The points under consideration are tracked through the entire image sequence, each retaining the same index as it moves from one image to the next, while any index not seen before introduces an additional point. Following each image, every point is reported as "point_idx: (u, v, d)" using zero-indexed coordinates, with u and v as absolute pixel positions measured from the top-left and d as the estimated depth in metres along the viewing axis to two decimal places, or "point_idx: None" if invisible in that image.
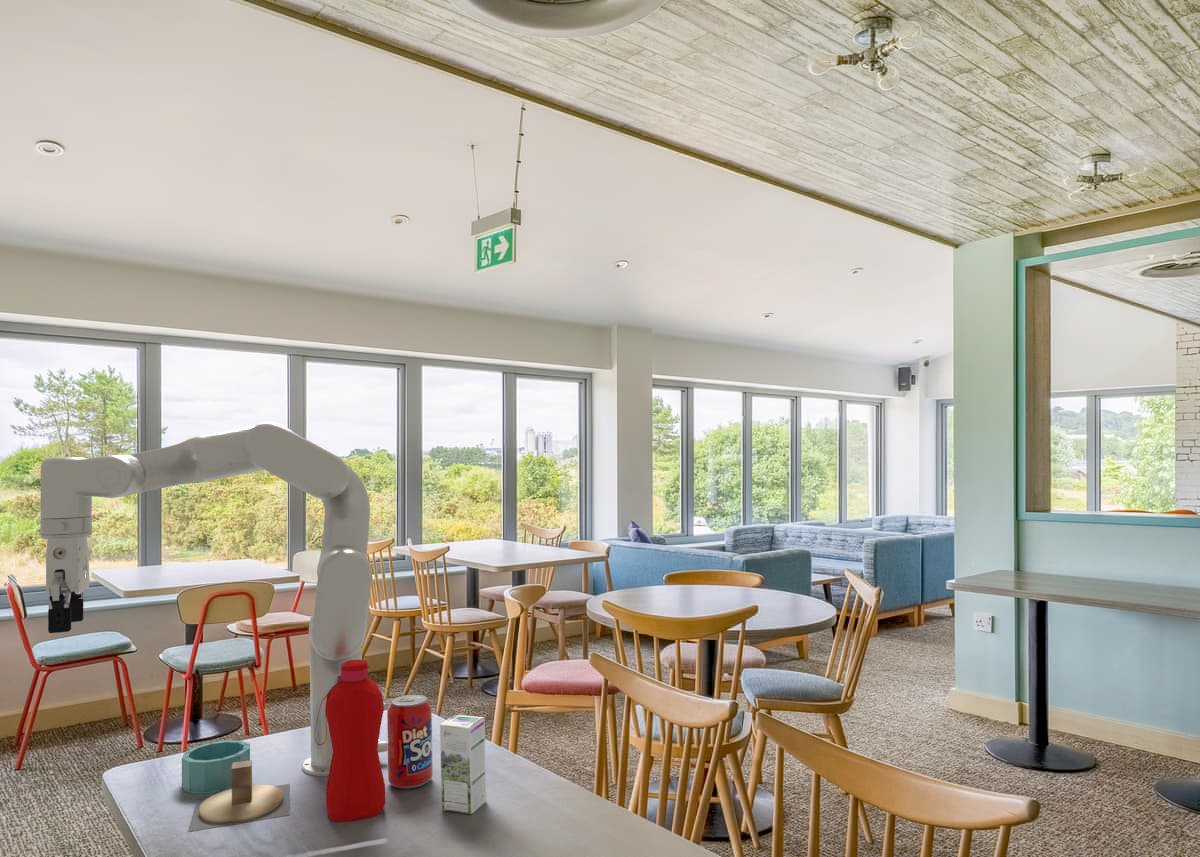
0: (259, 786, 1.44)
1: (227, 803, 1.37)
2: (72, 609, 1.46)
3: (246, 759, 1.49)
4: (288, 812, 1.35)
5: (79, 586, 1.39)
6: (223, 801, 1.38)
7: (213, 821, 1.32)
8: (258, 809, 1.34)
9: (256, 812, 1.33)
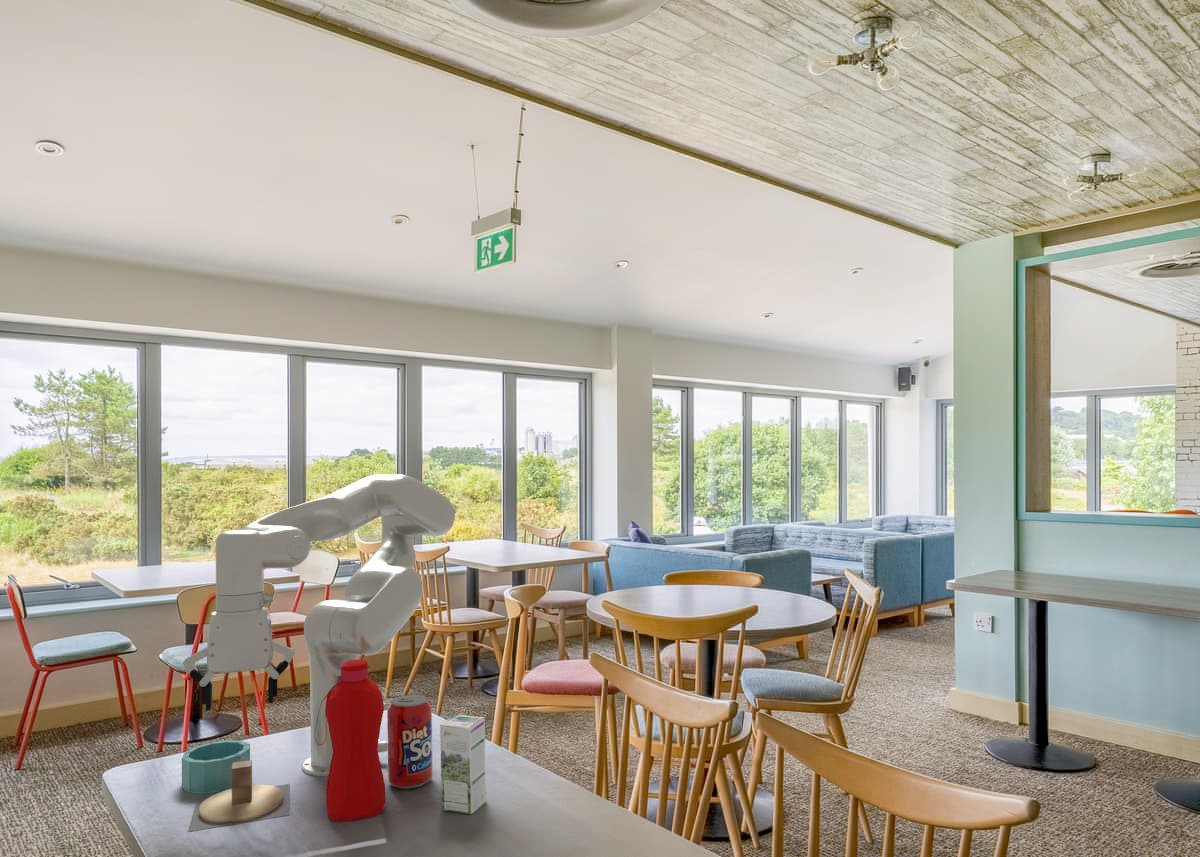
0: (259, 786, 1.44)
1: (227, 803, 1.37)
2: (211, 694, 1.37)
3: (246, 759, 1.49)
4: (288, 812, 1.35)
5: None
6: (223, 801, 1.38)
7: (213, 821, 1.32)
8: (258, 809, 1.34)
9: (256, 812, 1.33)
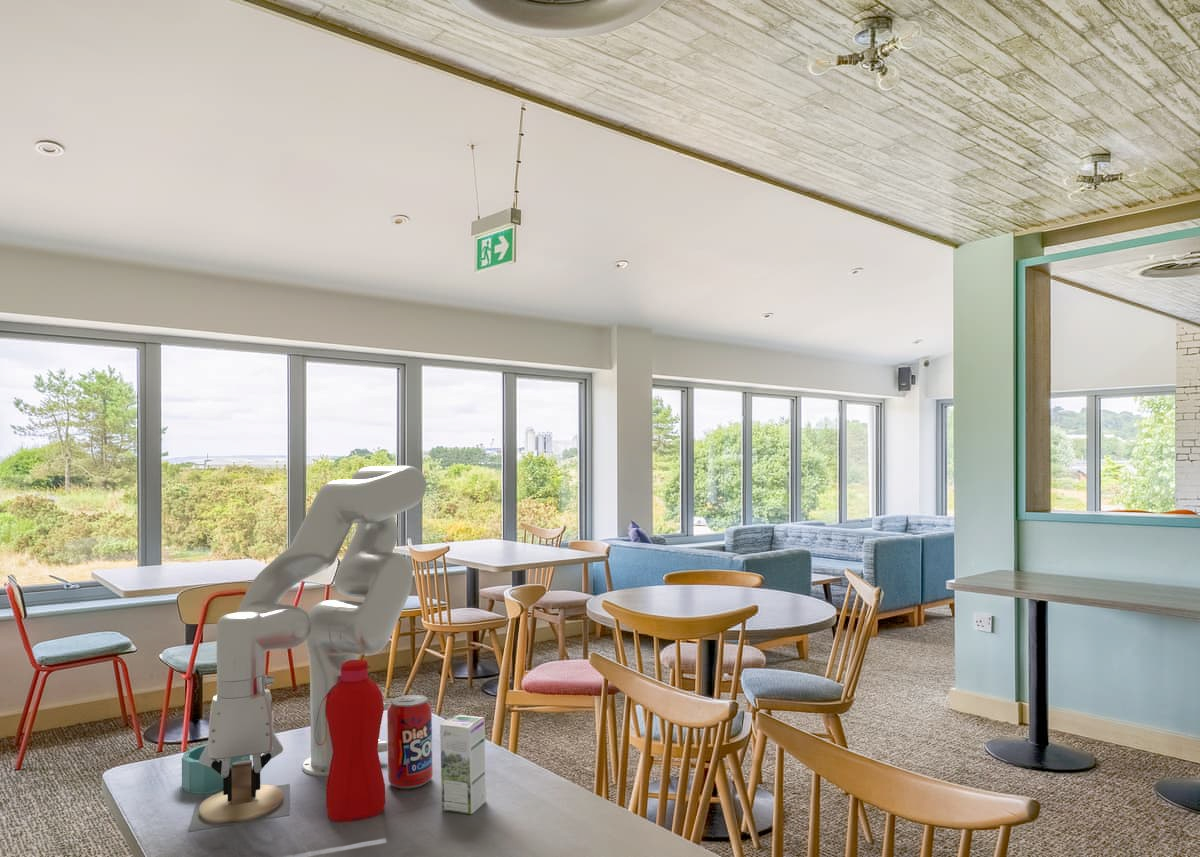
0: None
1: (227, 803, 1.37)
2: None
3: (246, 759, 1.49)
4: (288, 812, 1.35)
5: None
6: (223, 801, 1.38)
7: (213, 821, 1.32)
8: (258, 809, 1.34)
9: (256, 812, 1.33)
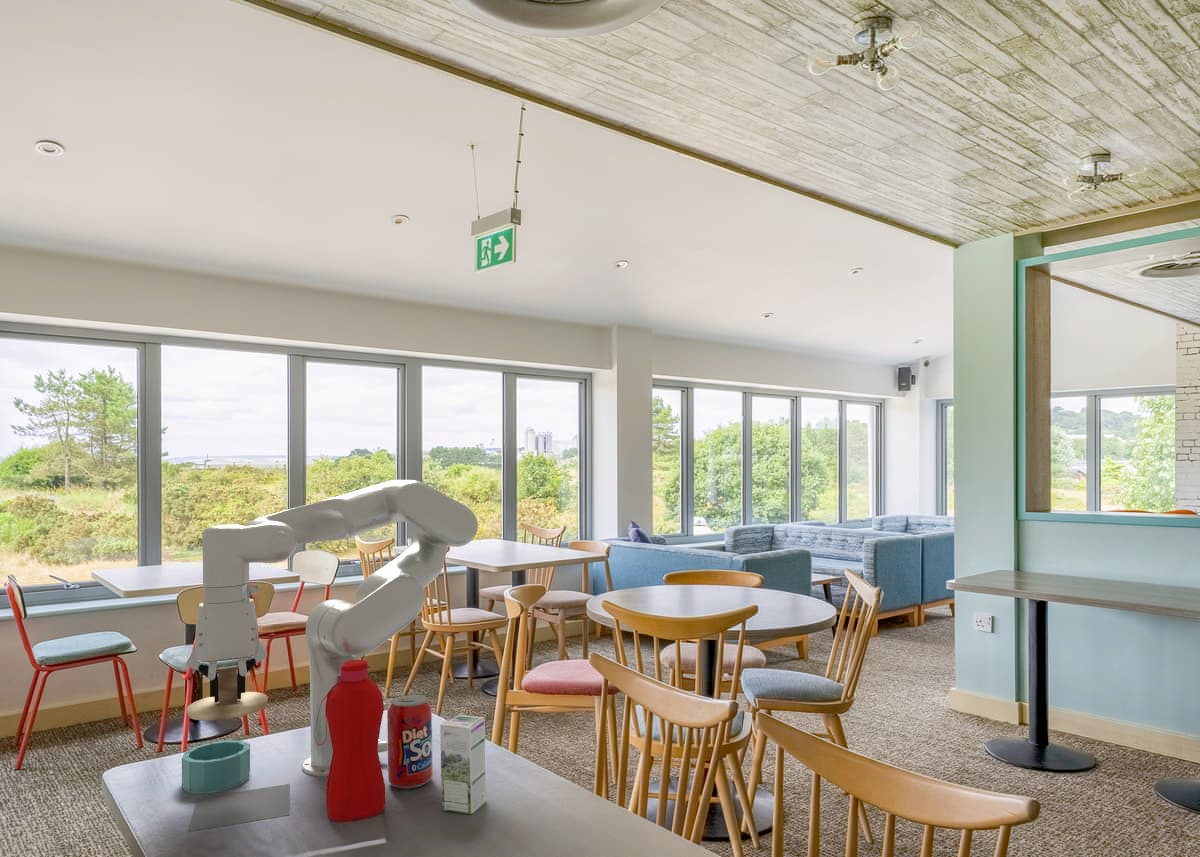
0: (243, 693, 1.50)
1: (214, 705, 1.43)
2: None
3: (246, 759, 1.49)
4: (288, 812, 1.35)
5: None
6: (209, 704, 1.44)
7: (202, 718, 1.38)
8: (245, 708, 1.41)
9: (243, 710, 1.40)
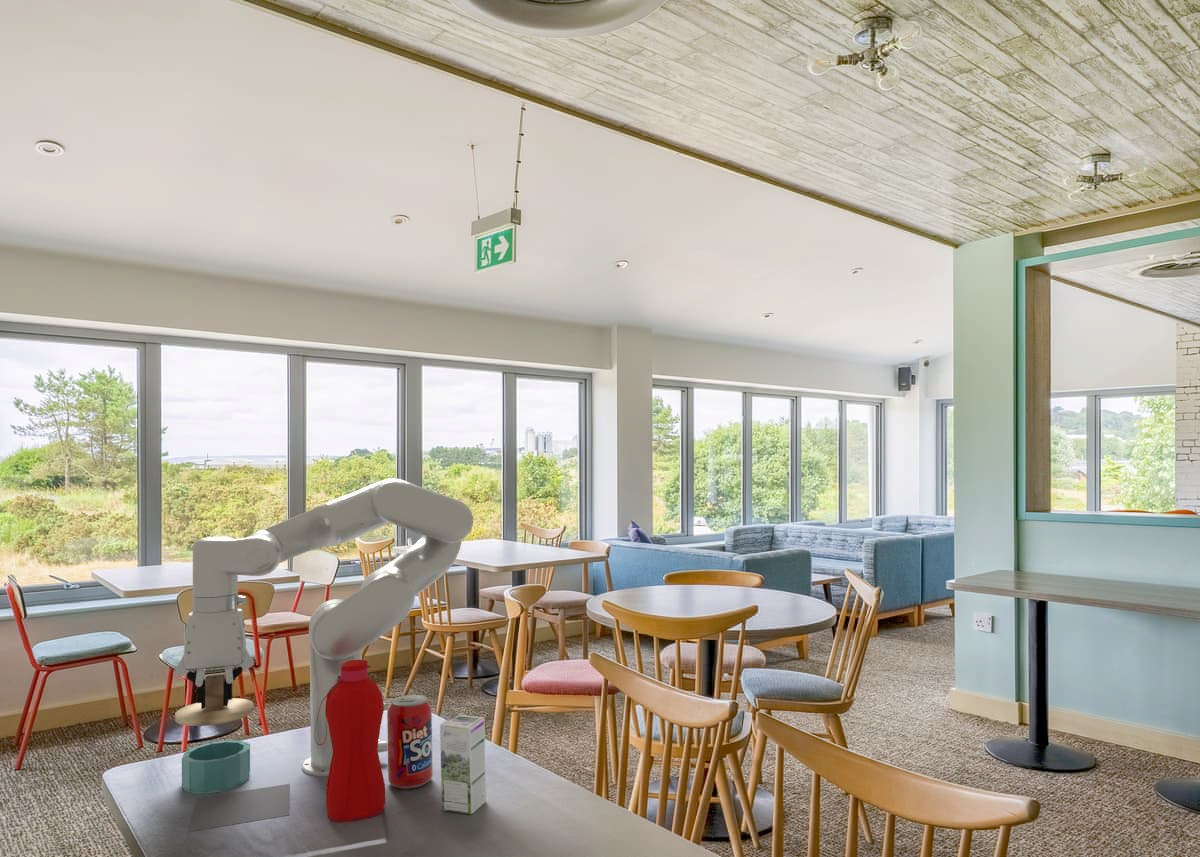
0: (232, 699, 1.55)
1: (201, 710, 1.49)
2: None
3: (246, 759, 1.49)
4: (288, 812, 1.35)
5: None
6: (197, 709, 1.49)
7: (187, 724, 1.44)
8: (229, 714, 1.46)
9: (227, 717, 1.45)
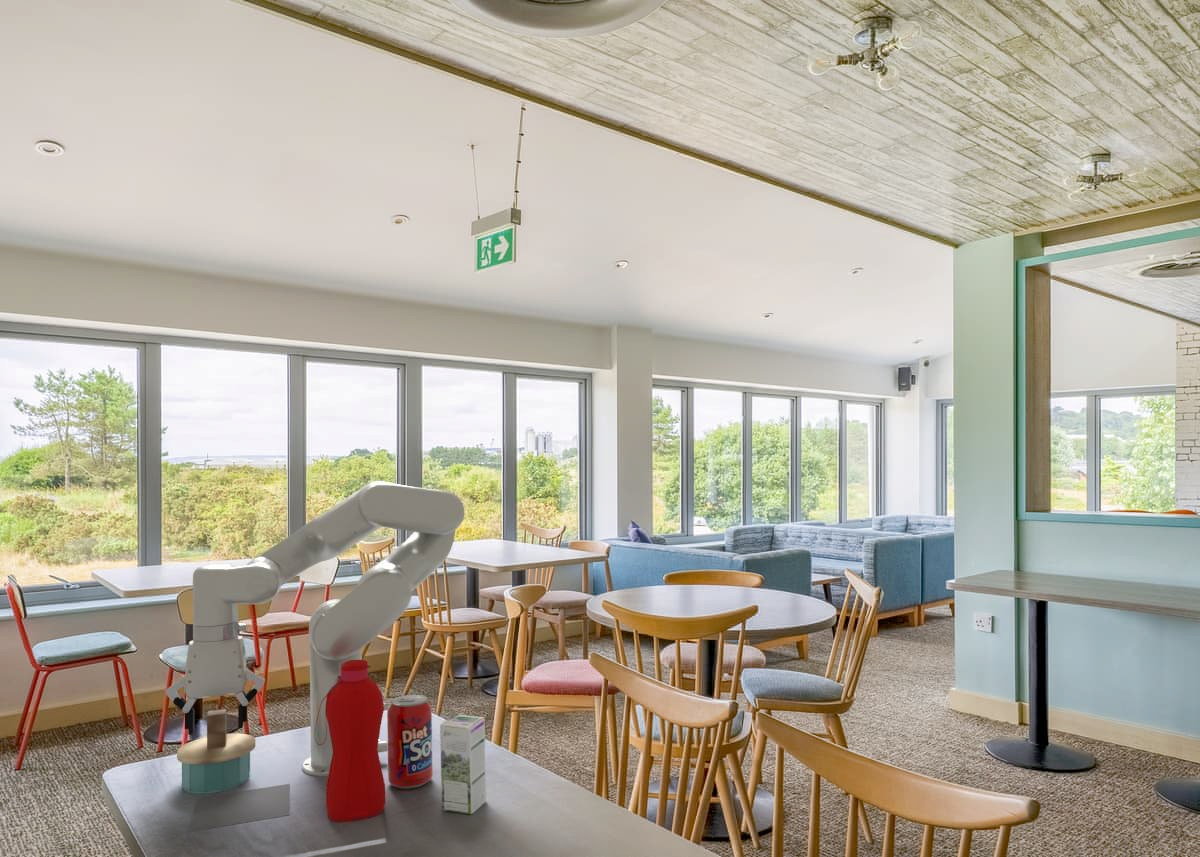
0: (233, 734, 1.55)
1: (203, 747, 1.49)
2: (193, 719, 1.49)
3: (246, 759, 1.49)
4: (288, 812, 1.35)
5: None
6: (199, 746, 1.49)
7: (189, 762, 1.43)
8: (231, 752, 1.46)
9: (229, 754, 1.45)
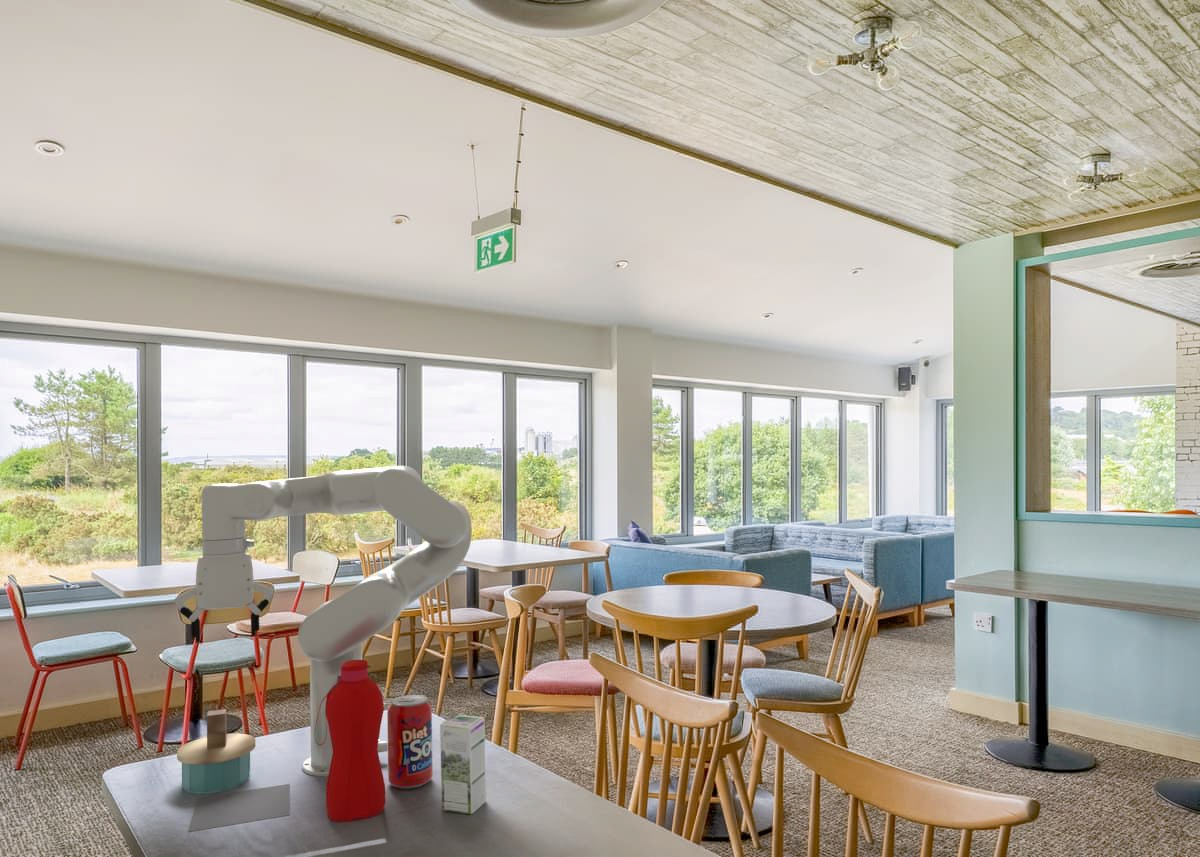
0: (233, 734, 1.55)
1: (203, 747, 1.49)
2: None
3: (246, 759, 1.49)
4: (288, 812, 1.35)
5: None
6: (199, 746, 1.49)
7: (189, 762, 1.43)
8: (231, 752, 1.46)
9: (229, 754, 1.45)
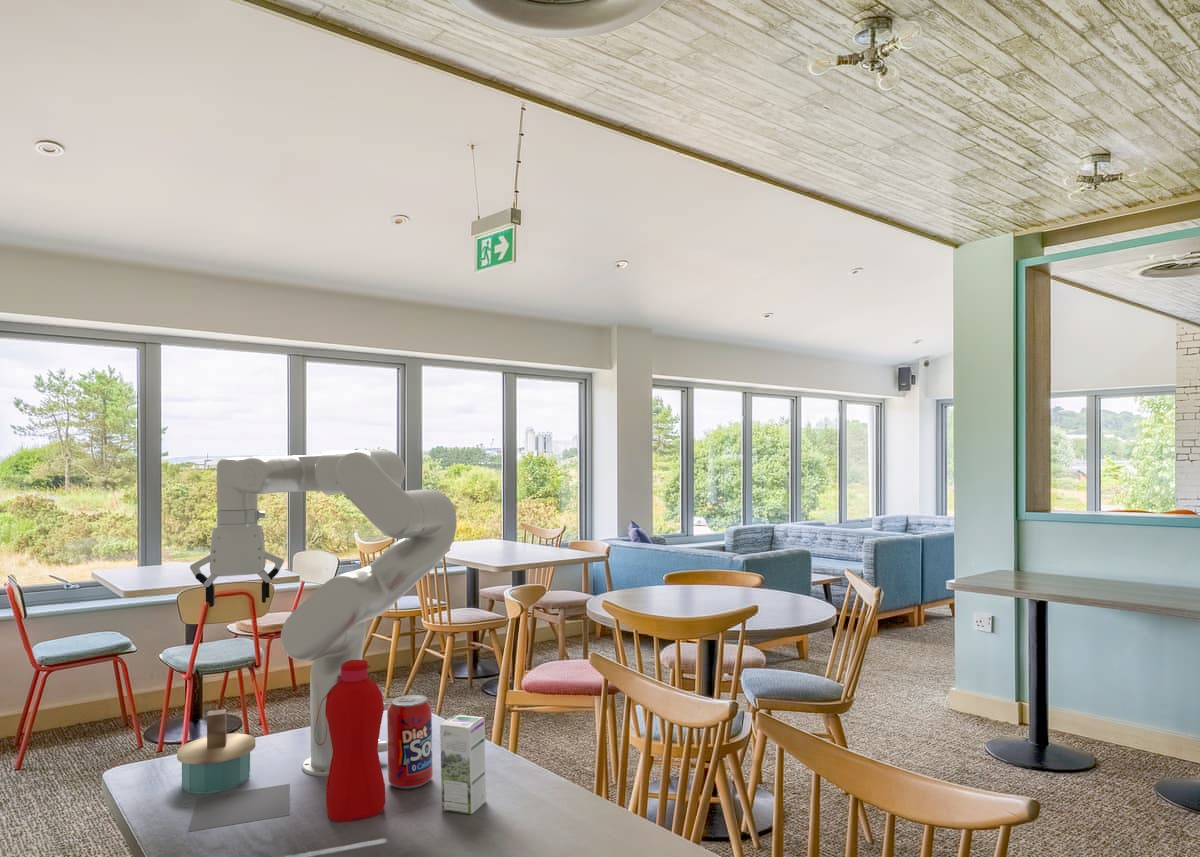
0: (233, 734, 1.55)
1: (203, 747, 1.49)
2: (213, 594, 1.63)
3: (246, 759, 1.49)
4: (288, 812, 1.35)
5: None
6: (199, 746, 1.49)
7: (189, 762, 1.43)
8: (231, 752, 1.46)
9: (229, 754, 1.45)
